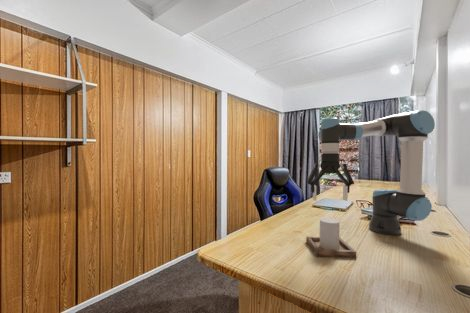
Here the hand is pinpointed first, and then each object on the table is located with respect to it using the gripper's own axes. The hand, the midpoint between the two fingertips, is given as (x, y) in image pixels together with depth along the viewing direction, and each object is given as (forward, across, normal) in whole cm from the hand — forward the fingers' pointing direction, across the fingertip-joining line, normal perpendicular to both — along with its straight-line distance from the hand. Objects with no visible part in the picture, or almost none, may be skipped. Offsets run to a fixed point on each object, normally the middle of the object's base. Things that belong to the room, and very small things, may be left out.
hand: (329, 200), depth 100 cm
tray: (+22, 0, 0) cm, 22 cm away
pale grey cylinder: (+21, 0, 0) cm, 21 cm away
